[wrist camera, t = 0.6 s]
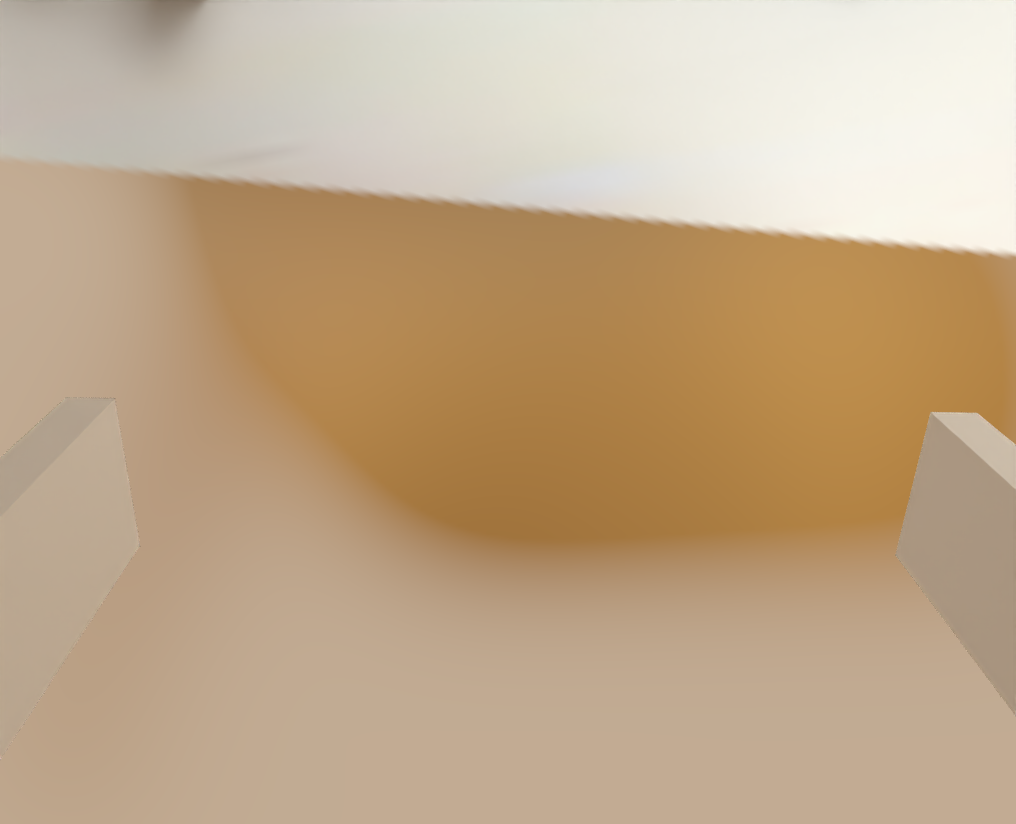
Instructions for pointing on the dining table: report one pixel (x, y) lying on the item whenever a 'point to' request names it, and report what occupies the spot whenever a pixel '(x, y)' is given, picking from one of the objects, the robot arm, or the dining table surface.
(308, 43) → the dining table surface
